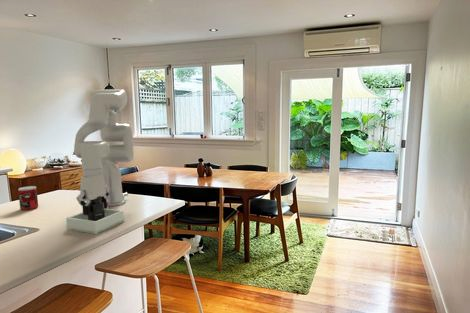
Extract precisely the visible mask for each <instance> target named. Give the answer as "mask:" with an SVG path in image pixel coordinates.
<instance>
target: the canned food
mask: <svg viewBox="0 0 470 313" xmlns="http://www.w3.org/2000/svg"><path fill="white" fill-rule="evenodd" d="M17 192H18V193H17V194H18V202H19V210H20V211H24V212H26V211H27V212H28V211H33V210H36V209H38V208H39V202H38V201H39V200H38V190H37V186H35V185H30V186H23V187H19V188H18V190H17Z"/></svg>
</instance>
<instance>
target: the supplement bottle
mask: <svg viewBox="0 0 470 313" xmlns="http://www.w3.org/2000/svg"><path fill="white" fill-rule="evenodd" d="M101 200H102V198H101V196H99V197H97V198H96V199H94V200H90V202H89V204H88V206H89V208H90V215H88V220H91V221H98V220H100V219H102V218H105V208H104V202H103V201H101Z"/></svg>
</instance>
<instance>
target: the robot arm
mask: <svg viewBox="0 0 470 313" xmlns="http://www.w3.org/2000/svg"><path fill="white" fill-rule="evenodd" d="M90 94H91V96H90V97H91V98H90V103H89V105H90V106H89V113H88V114H89V115H88V120H87V121H86V122H85V123H84V124H82V125H81V127H80V128H79V129H78V130H77V132H76V134H75V139H74V146H73V153H74V155H75V156H76V157H77V158H78V159H81V169H82V176H81V178H80V184H79V186H80V189H79V190H80V191H79V192H80V193H79V194H78V195H77V196H76V200H77V201H78V204H80V206H81V207H82V212H83V215H90V208H89V206H88V204H89V202H90V200H94V199H96V198H97V197H99V196H101V198H102V200H101V201H103V202H104V208H105V209H106V208H107V200H106V199H108V207H116V206H120V205H124V204H125V203H126V202H127V201H126V200H127V199H126V198H125V197H128V196H129V194H128V192H127V191H126V192H124V193H123V186H122V170H121V169H120V167H119V165H117V163H129V162H132V161H133V160H134V134H133V129H132V126H131V125H130V124H128V123H118V114H117V112H116V111H118V112H119V111H122V110H124V108H125V107H126V106H127V103H128V93H127V92H126V90H125V89H96V90H92V92H91V93H90ZM98 131H100V137H101V138H100V139H101V140H86V139H87V137H89V135H91V134H93V133H95V132H98ZM109 143H123V144H109ZM105 183H106V185H107V187H105Z"/></svg>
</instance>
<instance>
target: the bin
mask: <svg viewBox="0 0 470 313" xmlns="http://www.w3.org/2000/svg"><path fill="white" fill-rule="evenodd" d="M65 221H66V228H67V229H66V230H68V231H75V232H80V233H87V234H92V235H98V234H100V233H101V234H102V232H105V231H107V230H109V229H111V228H113V227H116V226H118V225H120V224H122V223H124V222H125V215H124V210H121V209H120V210H119V209H112V208H111V209H110V208H108V209H105V218H102V219H100V220H98V221H91V220H88V215H83V211H81V212H79V213H77V214H74V215H71V216H68V217H66V220H65Z"/></svg>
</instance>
